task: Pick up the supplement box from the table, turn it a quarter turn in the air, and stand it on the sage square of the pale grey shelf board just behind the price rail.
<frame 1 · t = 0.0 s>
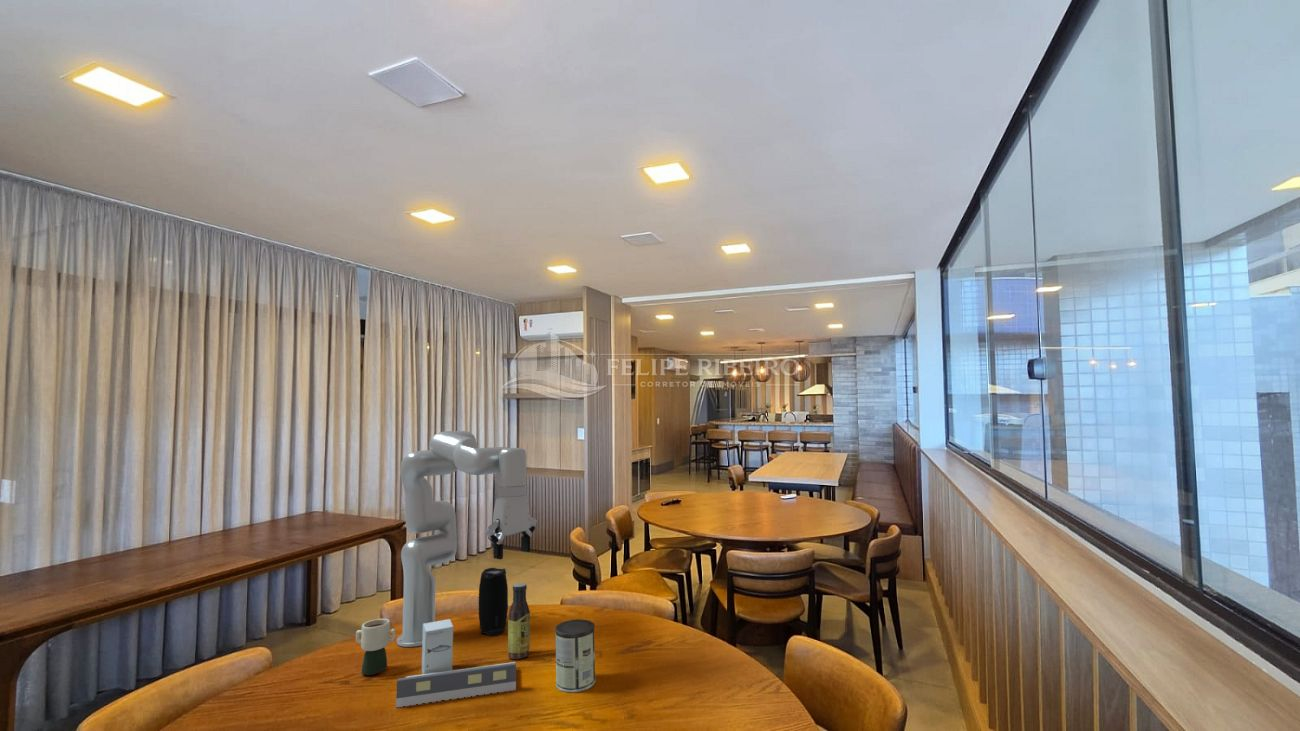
hand: (512, 554, 146), 31 cm above the table, tool pointing down, fingers open, 9 cm apart
portable speaker: (493, 632, 173), on the table
shelf board: (459, 687, 135), on the table
character mug: (374, 672, 145), on the table
price rail: (458, 680, 131), on the shelf board, point 4 cm above the table
supplement box: (436, 673, 144), on the table
coffee can: (575, 683, 136), on the table
sauce bottle: (518, 656, 153), on the table
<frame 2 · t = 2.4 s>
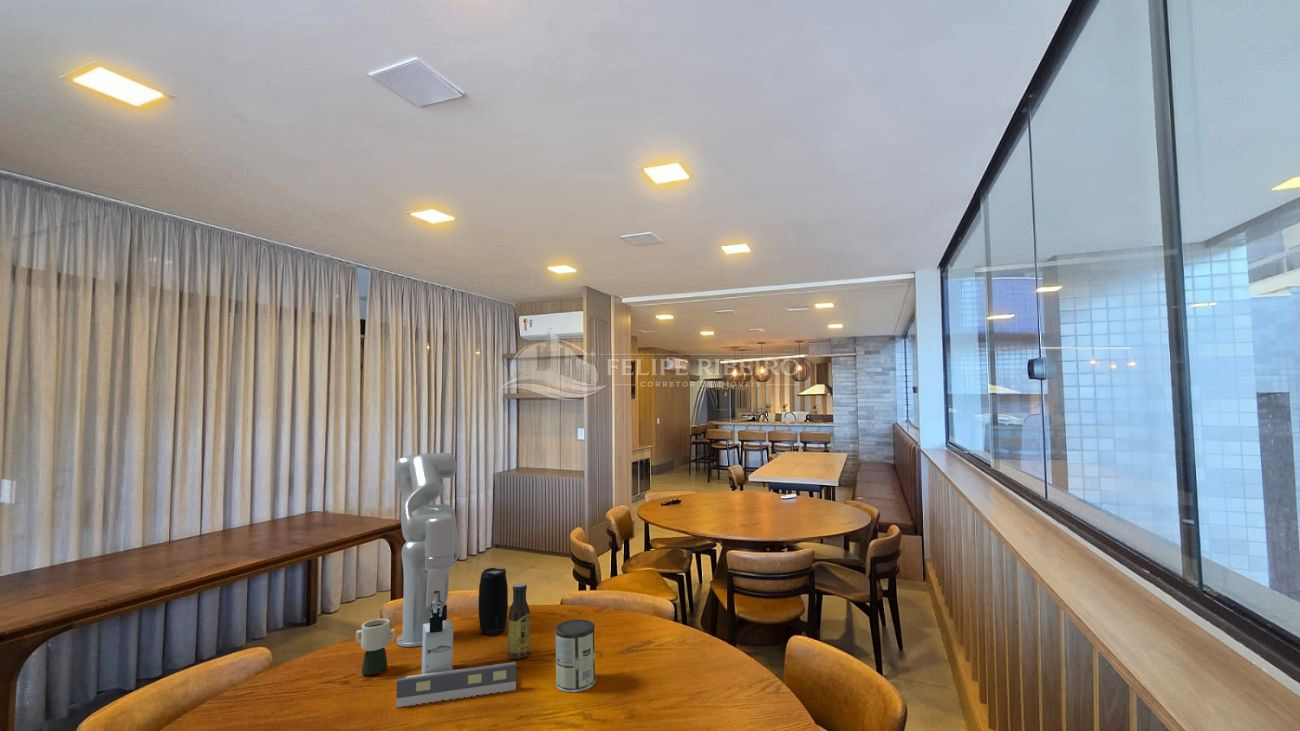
hand: (438, 626, 145), 12 cm above the table, tool pointing down, fingers open, 9 cm apart
supplement box: (436, 673, 144), on the table, touching gripper
everything else where it was.
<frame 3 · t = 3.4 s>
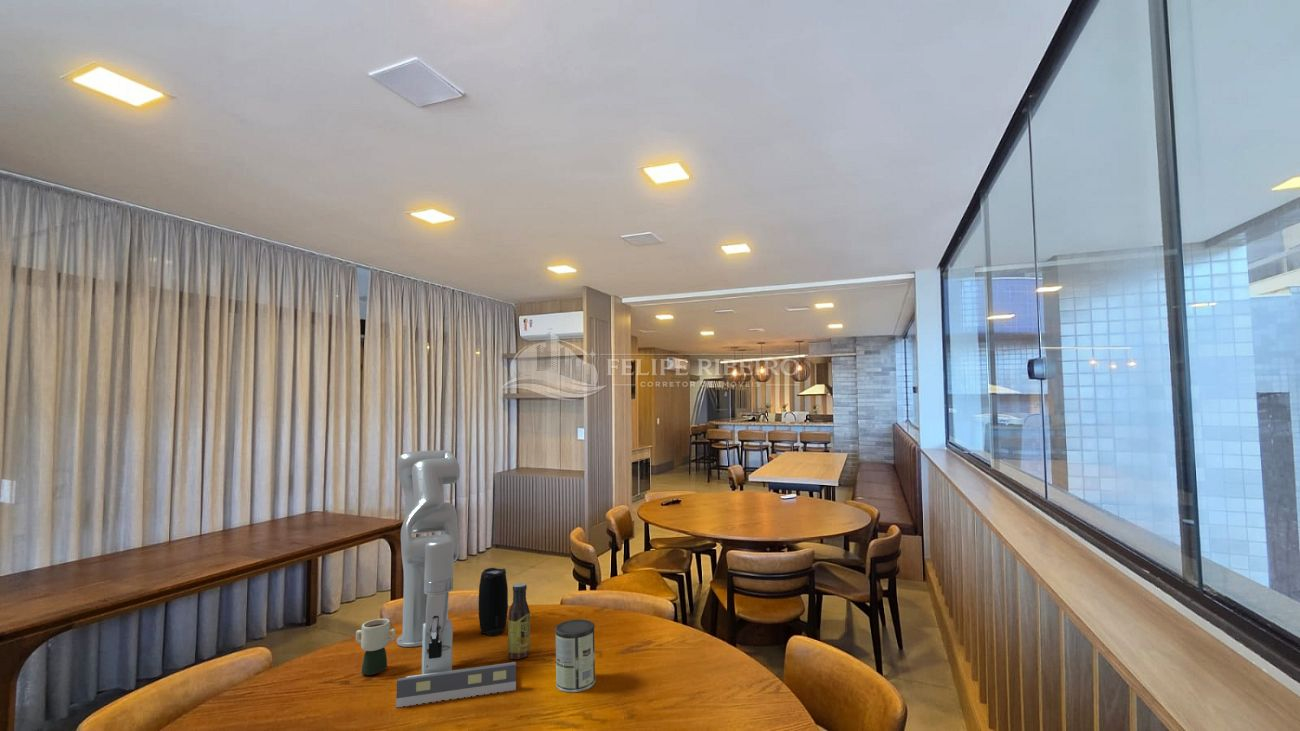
hand: (437, 650, 145), 6 cm above the table, tool pointing down, fingers closed on supplement box, 8 cm apart
supplement box: (436, 673, 144), on the table, touching gripper
everything else where it was.
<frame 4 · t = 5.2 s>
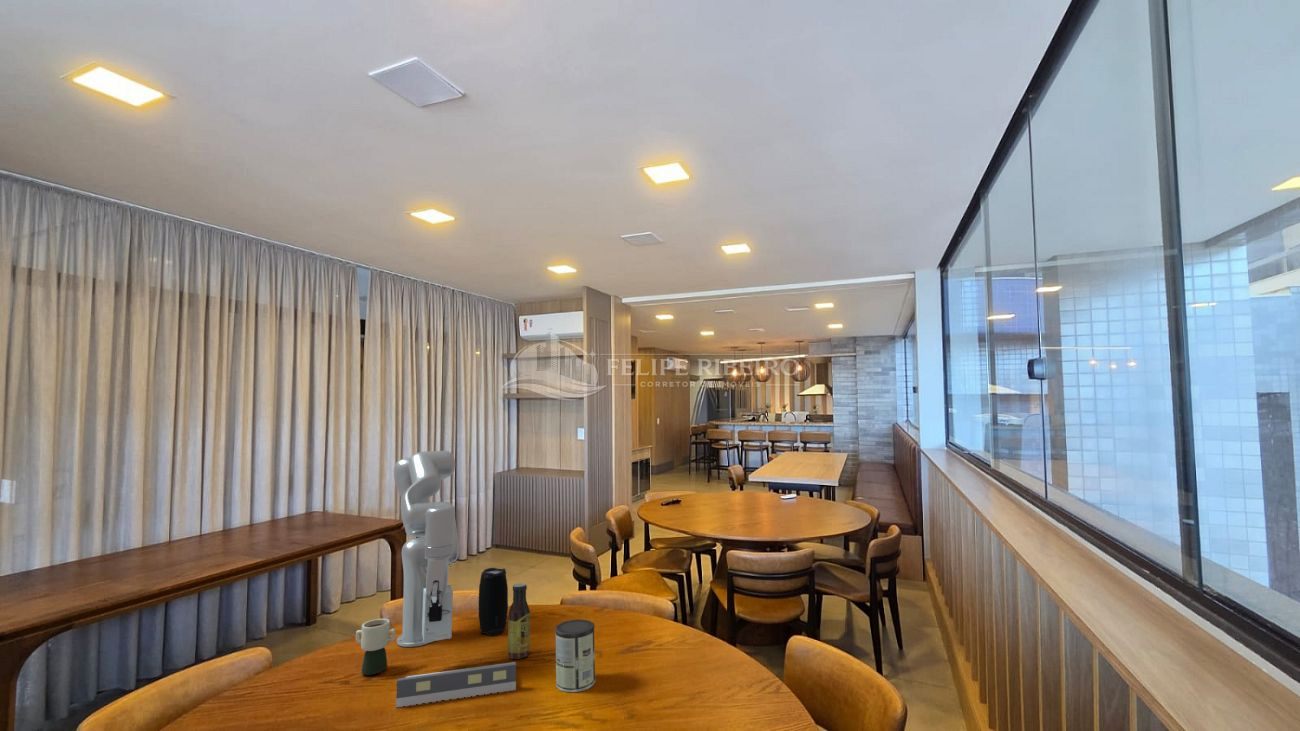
hand: (437, 614, 146), 15 cm above the table, tool pointing down, fingers closed on supplement box, 8 cm apart
supplement box: (436, 637, 146), point 9 cm above the table, touching gripper
everything else where it was.
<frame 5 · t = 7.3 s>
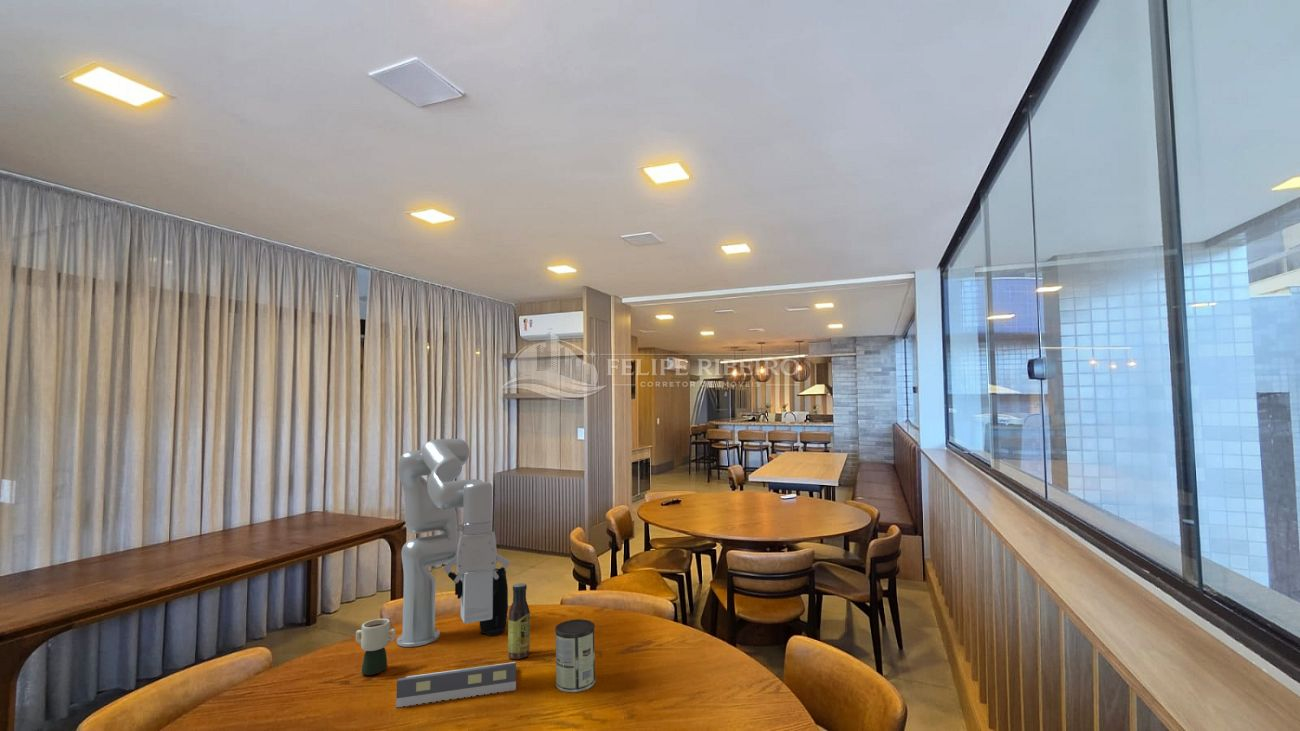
hand: (476, 595, 140), 22 cm above the table, tool pointing down, fingers closed on supplement box, 8 cm apart
supplement box: (476, 618, 139), point 16 cm above the table, touching gripper
everything else where it was.
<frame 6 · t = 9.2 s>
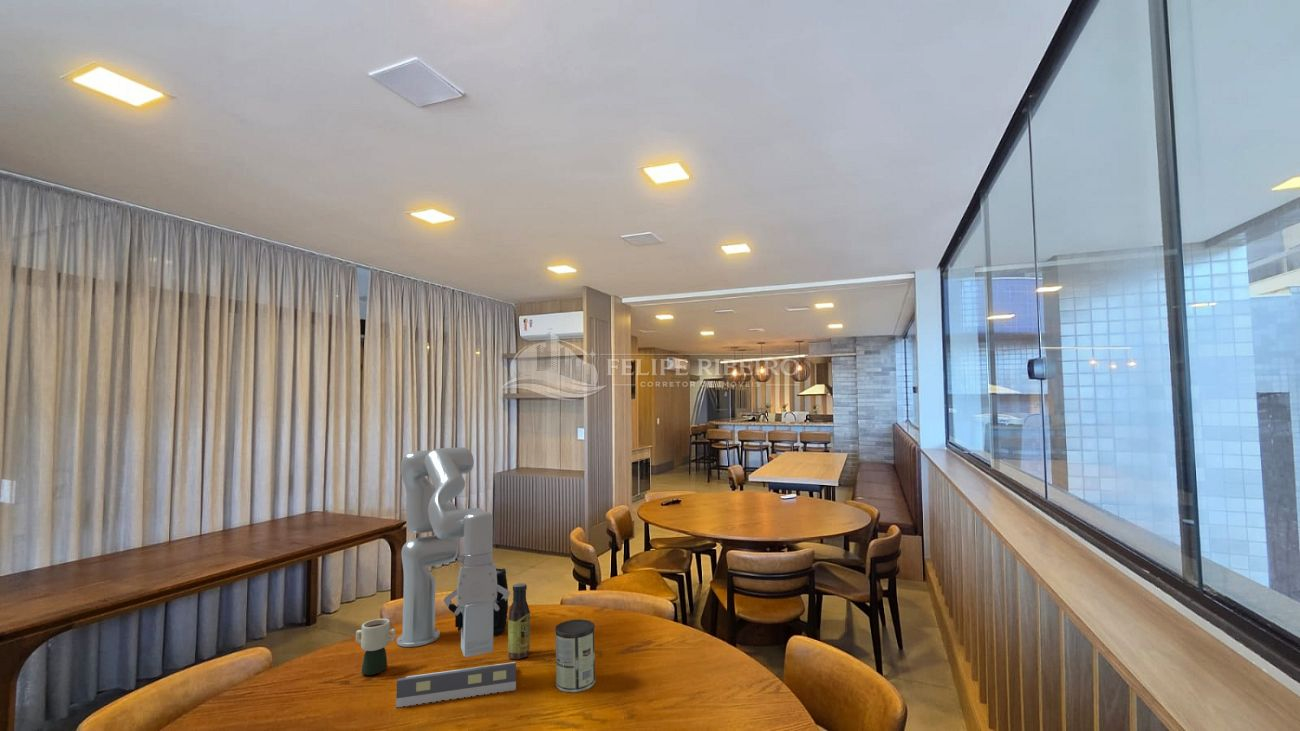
hand: (477, 627, 139), 14 cm above the table, tool pointing down, fingers closed on supplement box, 8 cm apart
supplement box: (476, 650, 138), point 8 cm above the table, touching gripper
everything else where it was.
when the fingers open (9 cm above the table, at t = 11.1 s): supplement box stays where it is, resting on shelf board.
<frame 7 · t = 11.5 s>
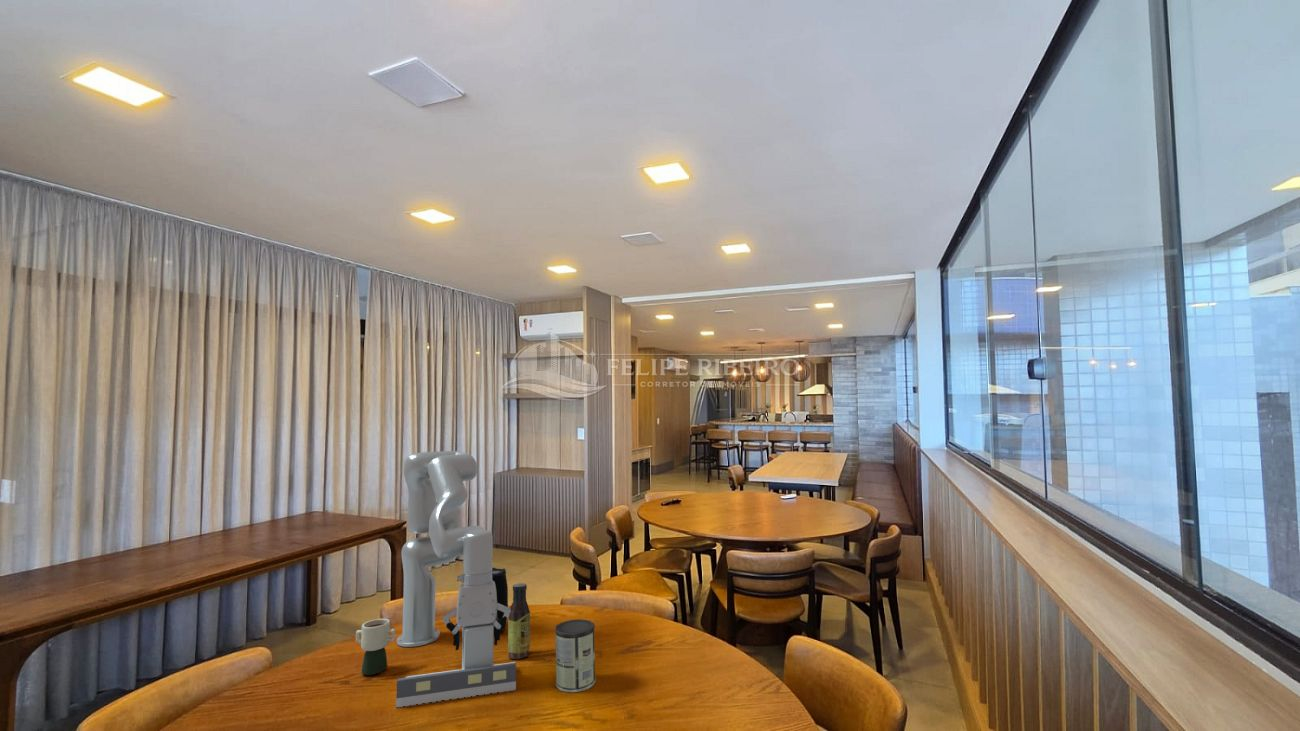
hand: (476, 645, 138), 9 cm above the table, tool pointing down, fingers open, 9 cm apart
supplement box: (477, 674, 138), point 2 cm above the table, touching shelf board
everything else where it was.
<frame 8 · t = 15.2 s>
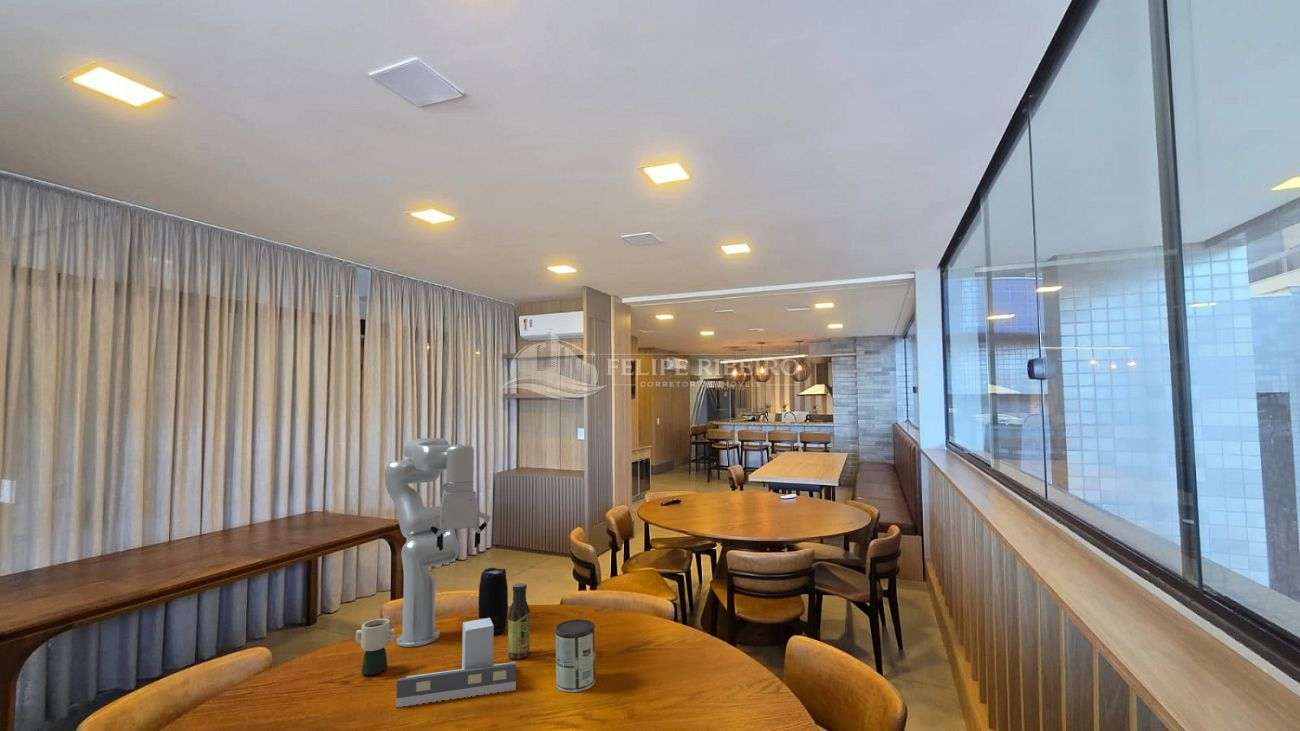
hand: (458, 548, 151), 32 cm above the table, tool pointing down, fingers open, 9 cm apart
nothing on the table moved.
at the end: supplement box inside the target area on the shelf board (0.2 cm from its centre), point 2.0 cm above the shelf board's base; supplement box tilted 0°; the gripper is holding nothing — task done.
